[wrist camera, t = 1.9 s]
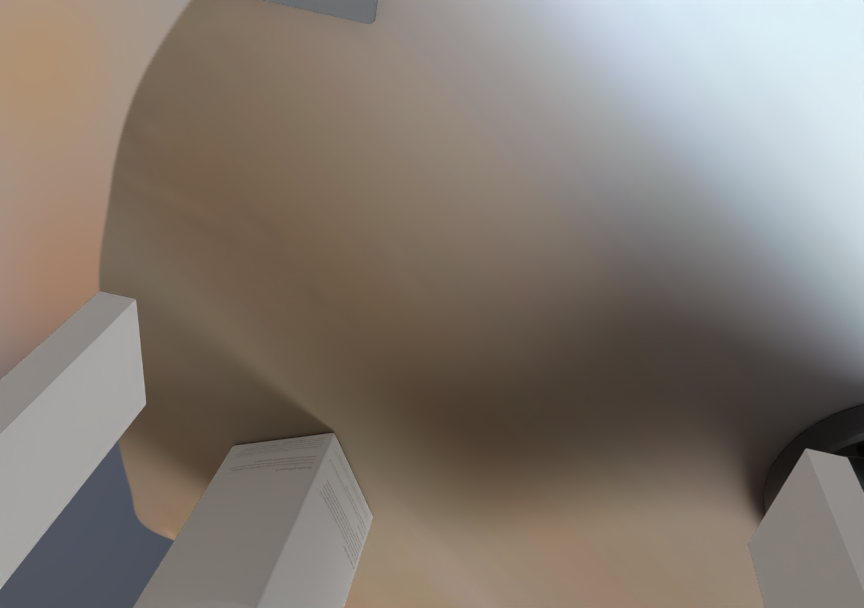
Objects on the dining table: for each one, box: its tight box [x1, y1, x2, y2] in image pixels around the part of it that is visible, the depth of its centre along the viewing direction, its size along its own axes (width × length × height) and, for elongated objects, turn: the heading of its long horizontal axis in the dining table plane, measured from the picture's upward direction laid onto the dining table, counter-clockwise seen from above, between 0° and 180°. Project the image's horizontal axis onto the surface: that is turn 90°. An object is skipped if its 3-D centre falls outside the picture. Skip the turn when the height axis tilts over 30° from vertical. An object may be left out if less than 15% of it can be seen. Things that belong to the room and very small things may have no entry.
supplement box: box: [133, 433, 373, 608], centre depth 47 cm, size 9×9×15 cm
